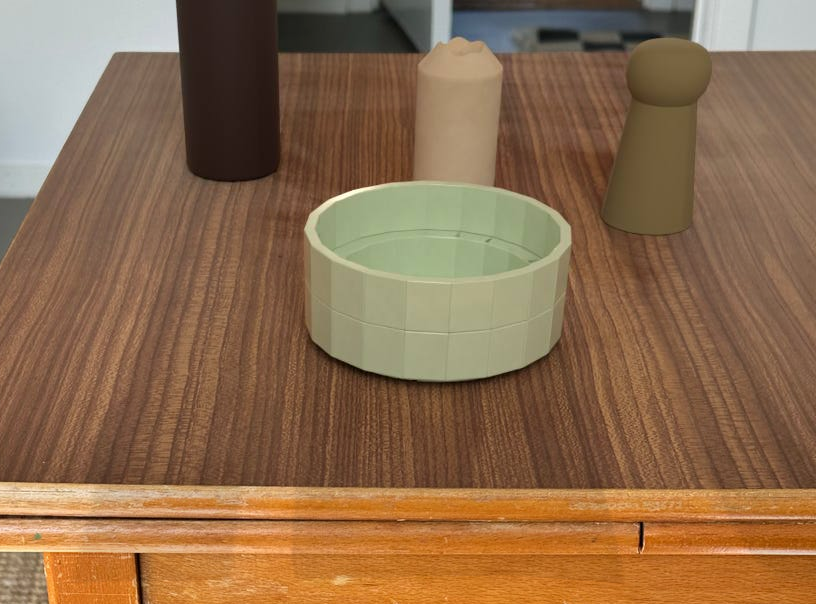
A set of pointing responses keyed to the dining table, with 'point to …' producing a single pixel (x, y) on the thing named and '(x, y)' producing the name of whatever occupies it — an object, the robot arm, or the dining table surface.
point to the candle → (457, 113)
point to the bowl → (435, 279)
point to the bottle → (230, 87)
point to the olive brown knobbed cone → (658, 139)
